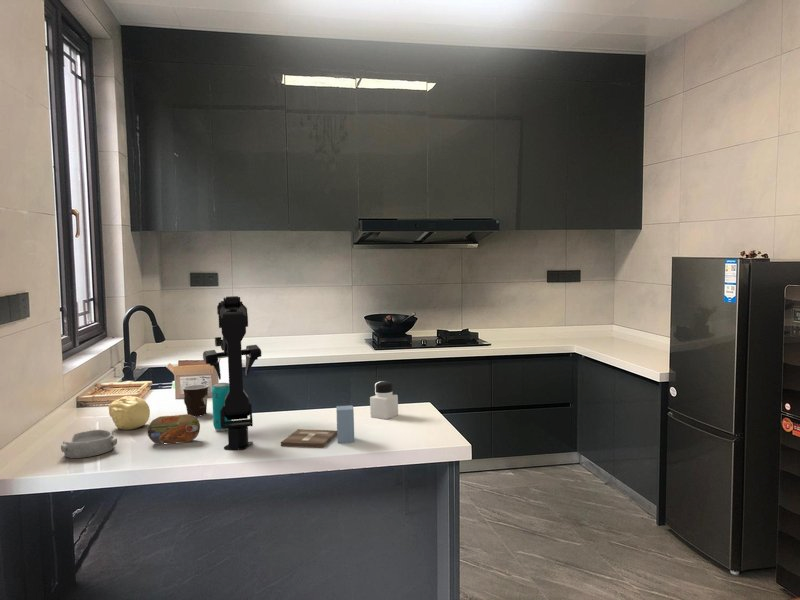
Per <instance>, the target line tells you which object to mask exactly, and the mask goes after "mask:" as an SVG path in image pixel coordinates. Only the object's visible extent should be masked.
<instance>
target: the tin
mask: <svg viewBox="0 0 800 600" xmlns="http://www.w3.org/2000/svg"><path fill="white" fill-rule="evenodd" d="M200 431H201V423H200V421H199V419H198V418H197V416H196V417H194V416H193V415H190V414H187V413H185V414H175V415H163V416H158V417H156V418H154V419H153V420H152V421H151V422H150V423H149V424H148V427H147V436H148V438H149V439H150V440H151V442H153V443H154V444H156V445H165V444H164V443H173V444H177V443H176V442H185V443H190V442H192V441H193V440H194V441H195V439H197V437H198V436H199V433H200Z"/></svg>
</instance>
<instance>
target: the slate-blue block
mask: <svg viewBox="0 0 800 600" xmlns="http://www.w3.org/2000/svg"><path fill="white" fill-rule="evenodd" d="M354 415H355V414H354V406H353V405H337V406H336V431H337V435H336V436H337V444H347V443H348V444H349V443H355V419H354V418H355V416H354Z"/></svg>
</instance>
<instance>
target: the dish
mask: <svg viewBox="0 0 800 600" xmlns="http://www.w3.org/2000/svg"><path fill="white" fill-rule="evenodd" d="M117 444H118V438H116V437H115V438H114V435H113V431H110V430H107V429H92V430H90V429H89V430H84V431H80V432H76V433H74V434H73V436H72V438H71V440H70V441H66V440H63V441H62V444H61V445H60V450H61V453H64V456H65V457H66V458H70V459H80V458H81V459H82V458H88V457H89V458H90V457H95V456H98V455H99V456H100V455H102V454H105V453H108V452H111V451H112V450H113V449H114V447H116V446H117Z"/></svg>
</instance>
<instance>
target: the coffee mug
mask: <svg viewBox="0 0 800 600" xmlns="http://www.w3.org/2000/svg"><path fill="white" fill-rule="evenodd" d="M182 389H183V395H184V397H183V403H184V405H185V408H186V414H190V415H193V416H196V417H201V416H200V415H202V416H205V415H207V410H208V409H207V408H208V406H207V405H208V394H209V393H208V392H209V385H207V384H191V385H187V386H184V387H182ZM204 414H205V415H204Z"/></svg>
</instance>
